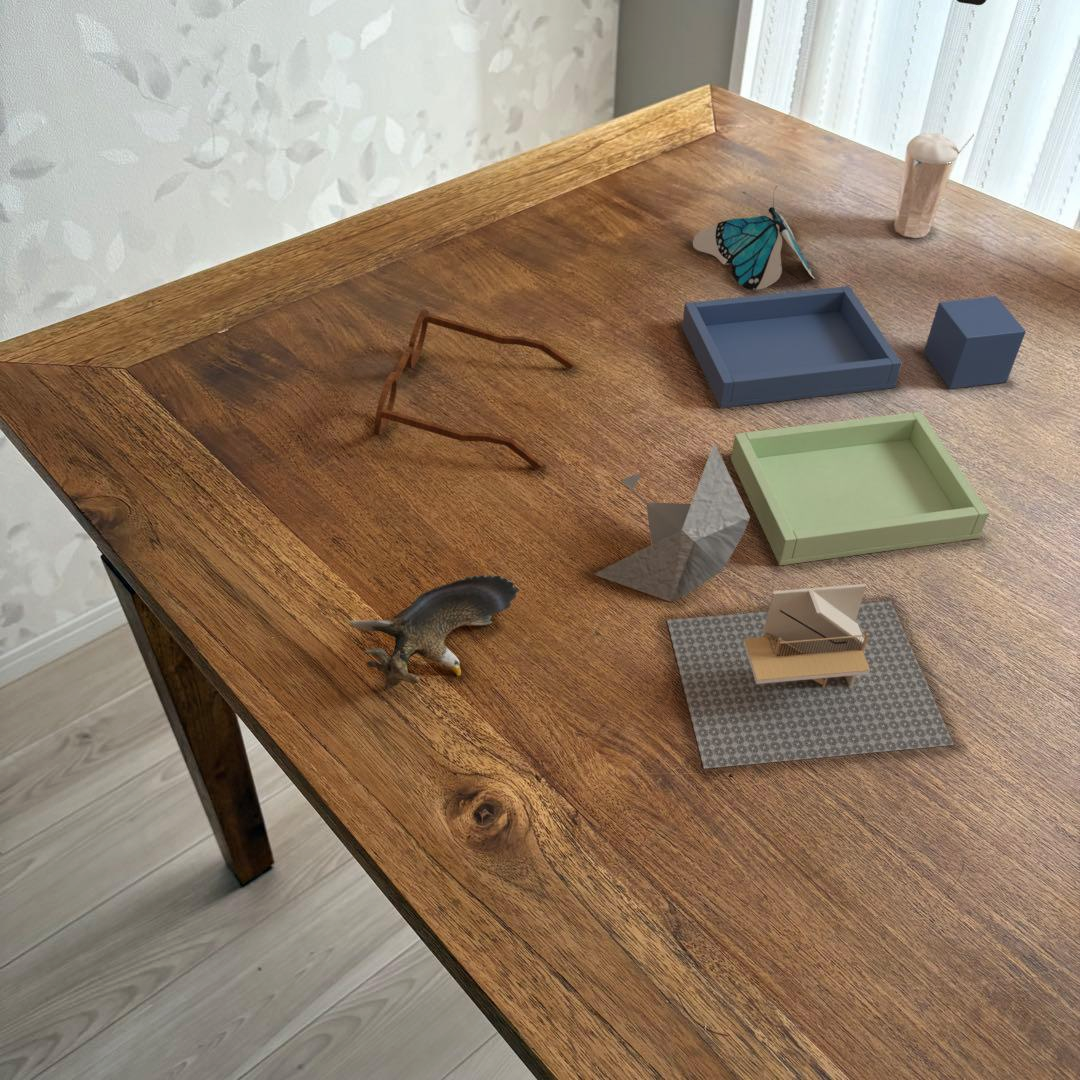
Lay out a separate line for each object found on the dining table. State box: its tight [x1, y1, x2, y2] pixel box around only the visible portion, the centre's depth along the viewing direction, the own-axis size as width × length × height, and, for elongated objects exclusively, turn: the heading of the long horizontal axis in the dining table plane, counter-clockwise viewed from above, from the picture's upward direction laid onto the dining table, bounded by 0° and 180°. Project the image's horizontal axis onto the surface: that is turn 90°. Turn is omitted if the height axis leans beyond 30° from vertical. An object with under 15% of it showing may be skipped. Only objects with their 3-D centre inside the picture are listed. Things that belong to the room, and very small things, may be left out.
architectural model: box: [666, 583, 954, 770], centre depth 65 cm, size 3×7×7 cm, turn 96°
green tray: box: [730, 411, 990, 566], centre depth 79 cm, size 15×11×2 cm
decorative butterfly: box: [692, 185, 816, 291], centre depth 100 cm, size 10×6×10 cm
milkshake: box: [893, 133, 975, 239], centre depth 102 cm, size 4×5×10 cm
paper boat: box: [592, 442, 751, 603], centre depth 74 cm, size 12×6×9 cm
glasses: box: [373, 308, 575, 470], centre depth 85 cm, size 13×13×5 cm
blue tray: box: [681, 285, 903, 409], centre depth 91 cm, size 15×11×2 cm
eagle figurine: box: [348, 574, 520, 690], centre depth 68 cm, size 8×7×9 cm
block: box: [923, 295, 1027, 390], centre depth 89 cm, size 5×5×5 cm
